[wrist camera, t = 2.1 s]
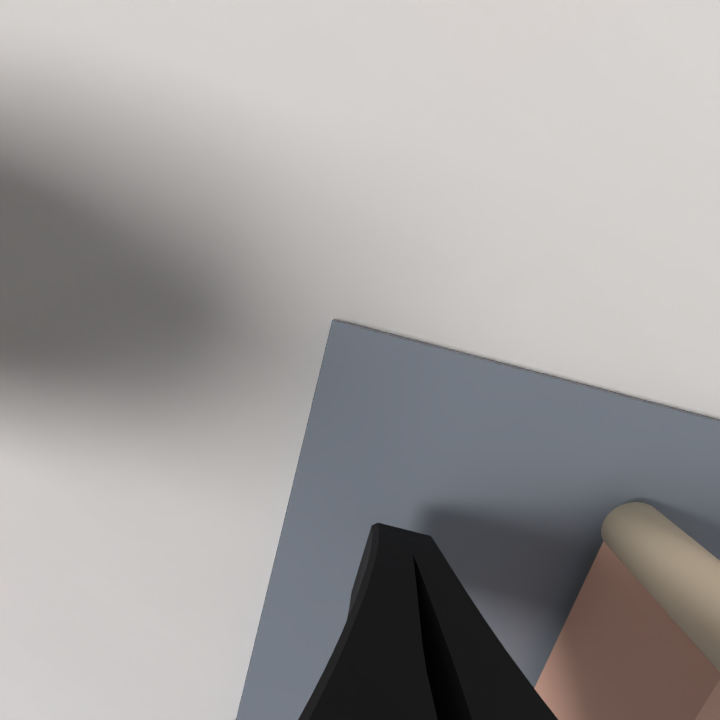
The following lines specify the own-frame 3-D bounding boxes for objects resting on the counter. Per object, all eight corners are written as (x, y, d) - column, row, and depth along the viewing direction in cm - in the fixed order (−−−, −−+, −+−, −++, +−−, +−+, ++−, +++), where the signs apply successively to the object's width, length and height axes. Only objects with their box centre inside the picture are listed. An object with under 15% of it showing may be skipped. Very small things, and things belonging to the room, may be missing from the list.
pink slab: (554, 744, 10) (637, 955, 7) (505, 731, 10) (566, 938, 7) (673, 510, 8) (851, 646, 5) (615, 495, 8) (760, 624, 5)
